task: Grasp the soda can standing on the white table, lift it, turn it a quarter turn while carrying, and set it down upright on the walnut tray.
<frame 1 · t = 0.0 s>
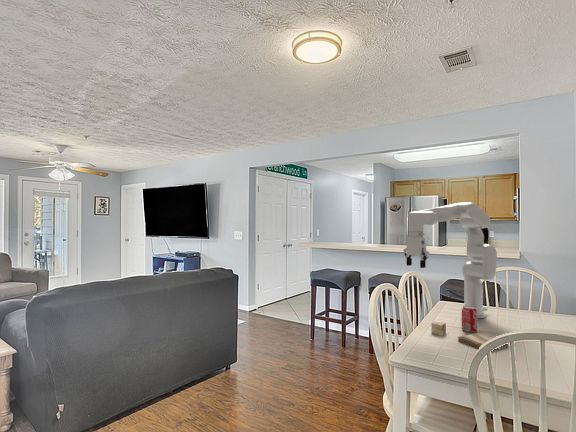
hand: (415, 266, 180), 31 cm above the table, fingers open, 9 cm apart
soda can: (469, 331, 171), on the table
walnut tray: (482, 343, 153), on the table
oak block: (438, 333, 168), on the table
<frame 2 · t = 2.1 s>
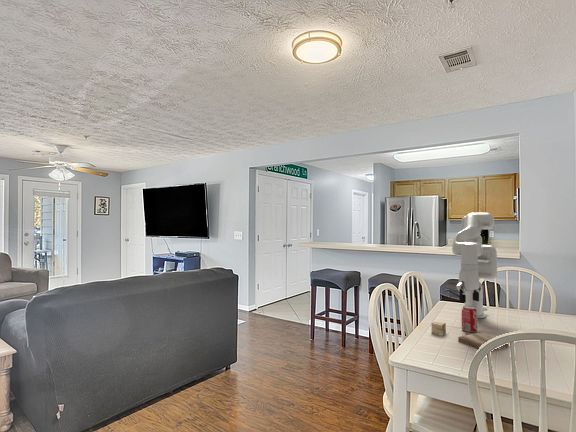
hand: (469, 301, 171), 15 cm above the table, fingers open, 9 cm apart
nothing on the table moved.
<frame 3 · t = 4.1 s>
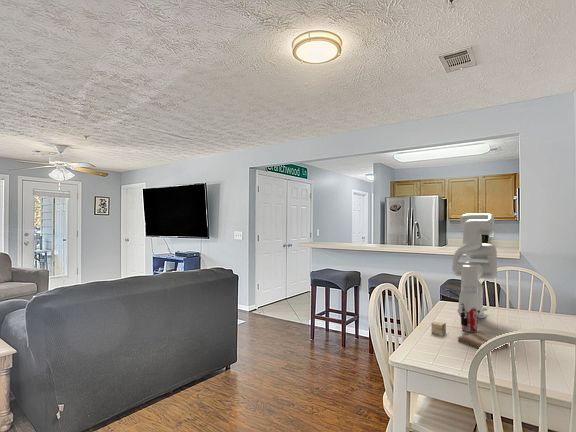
hand: (469, 324, 171), 3 cm above the table, fingers closed on soda can, 7 cm apart
soda can: (469, 331, 171), on the table, touching gripper
everything else where it was.
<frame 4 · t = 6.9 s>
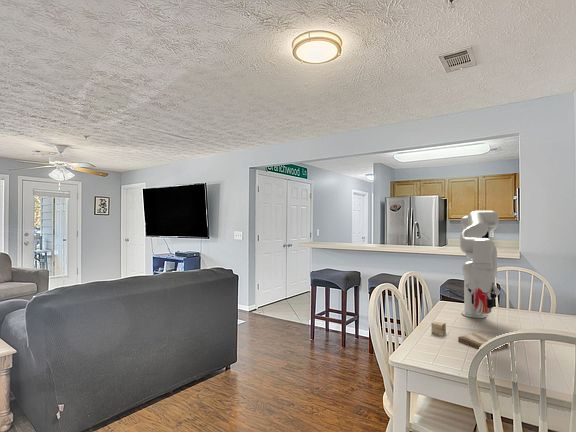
hand: (482, 305, 153), 17 cm above the table, fingers closed on soda can, 7 cm apart
soda can: (482, 313, 153), point 14 cm above the table, touching gripper
everything else where it was.
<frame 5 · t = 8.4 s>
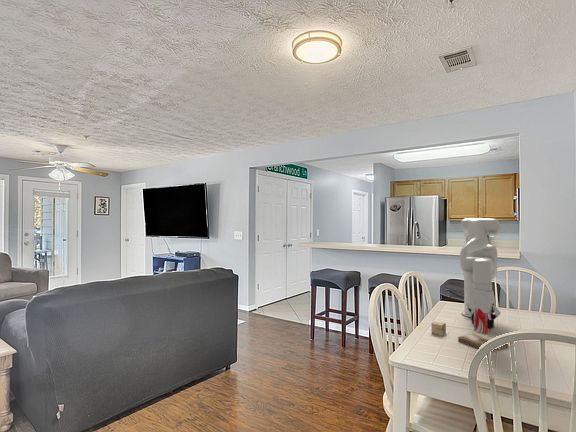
hand: (482, 325, 153), 8 cm above the table, fingers closed on soda can, 7 cm apart
soda can: (482, 333, 153), point 5 cm above the table, touching gripper
everything else where it was.
when the fingers open (7 cm above the table, at t = 9.8 s): soda can stays where it is, resting on walnut tray.
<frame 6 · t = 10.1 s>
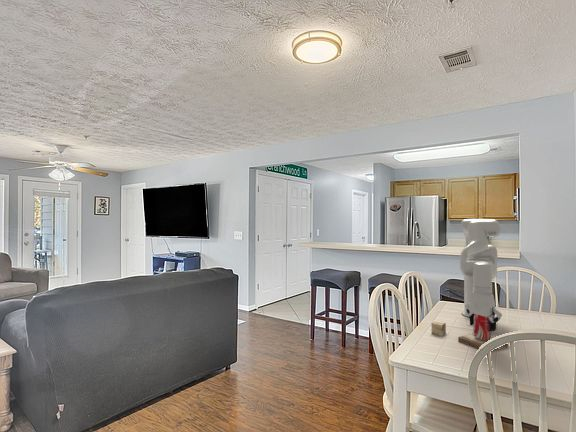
hand: (482, 327, 153), 7 cm above the table, fingers open, 9 cm apart
soda can: (482, 339, 153), point 2 cm above the table, touching walnut tray
everything else where it was.
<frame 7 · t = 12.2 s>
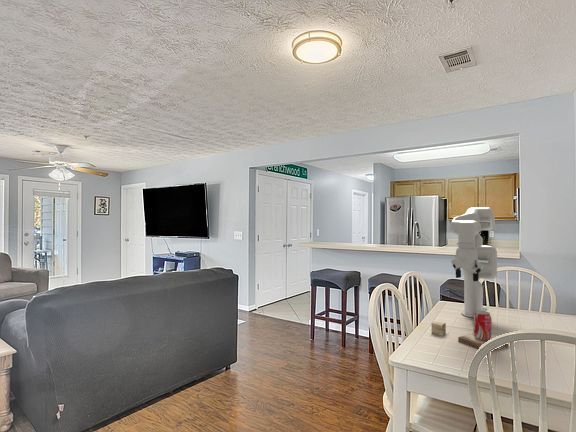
hand: (466, 279, 172), 26 cm above the table, fingers open, 9 cm apart
nothing on the table moved.
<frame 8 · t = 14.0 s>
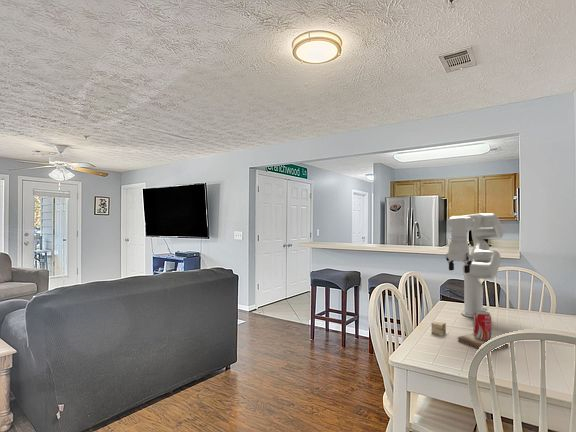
hand: (459, 271, 182), 28 cm above the table, fingers open, 9 cm apart
nothing on the table moved.
at the end: soda can inside the target area on the walnut tray (0.1 cm from its centre), point 2.1 cm above the walnut tray's base; soda can tilted 0°; the gripper is holding nothing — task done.
